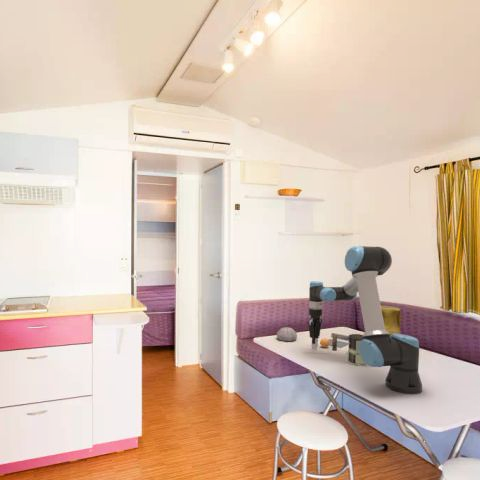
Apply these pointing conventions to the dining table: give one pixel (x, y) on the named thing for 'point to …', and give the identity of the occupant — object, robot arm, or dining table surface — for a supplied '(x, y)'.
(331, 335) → the wall
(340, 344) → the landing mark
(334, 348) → the right post
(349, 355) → the coffee can
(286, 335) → the sea urchin shell
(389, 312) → the pitcher
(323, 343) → the ball
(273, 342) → the dining table surface
